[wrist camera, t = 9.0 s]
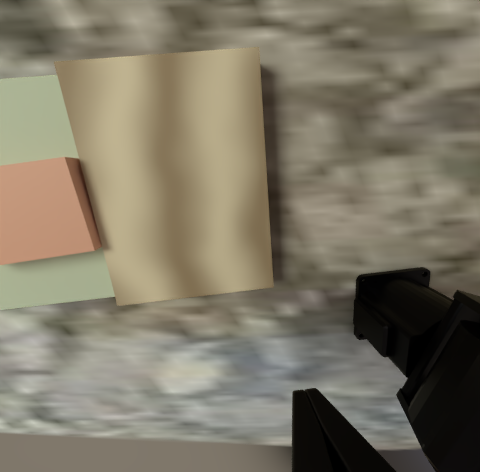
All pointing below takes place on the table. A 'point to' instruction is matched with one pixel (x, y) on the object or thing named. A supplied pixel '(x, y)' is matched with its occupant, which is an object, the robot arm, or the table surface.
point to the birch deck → (174, 170)
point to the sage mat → (33, 149)
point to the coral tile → (45, 211)
